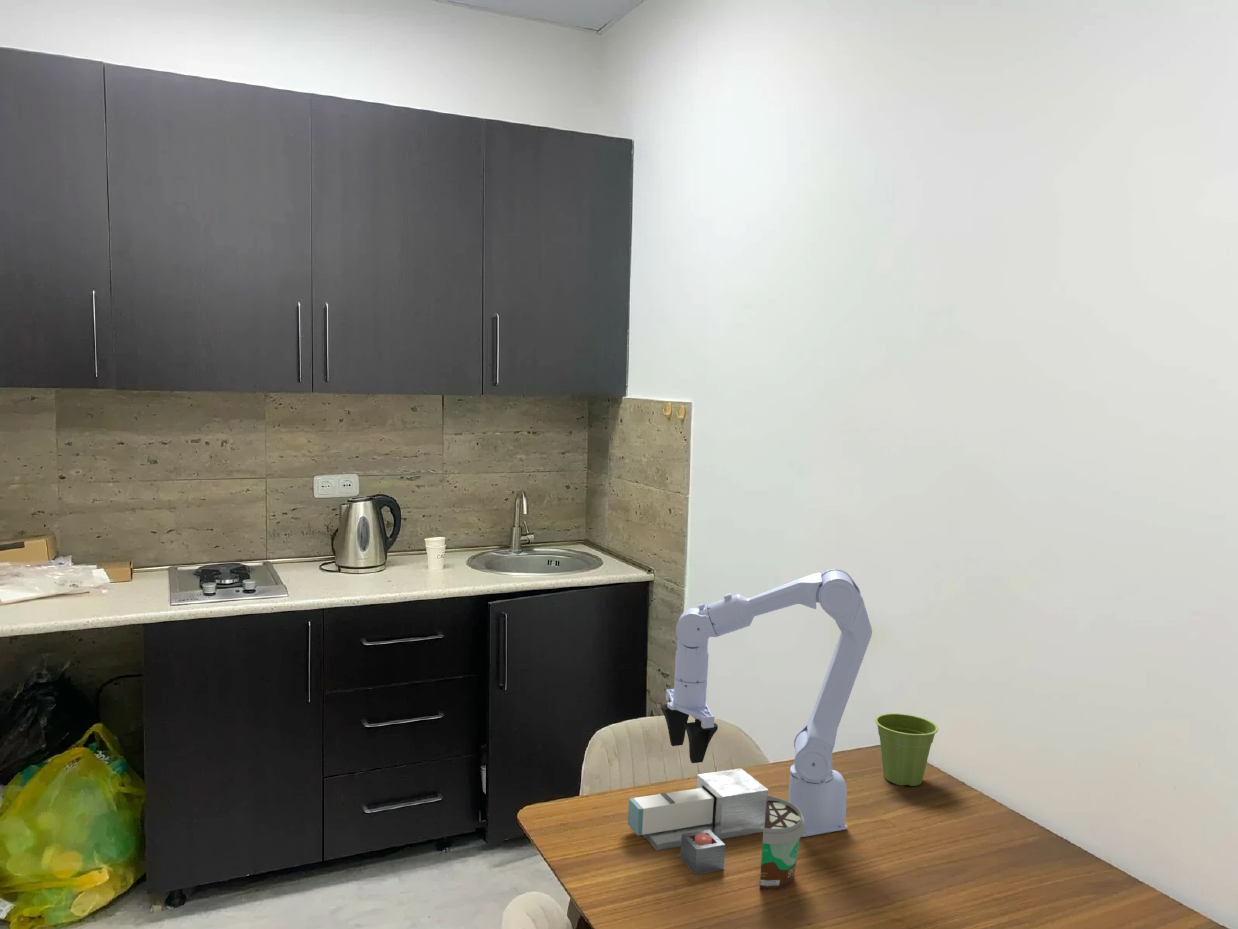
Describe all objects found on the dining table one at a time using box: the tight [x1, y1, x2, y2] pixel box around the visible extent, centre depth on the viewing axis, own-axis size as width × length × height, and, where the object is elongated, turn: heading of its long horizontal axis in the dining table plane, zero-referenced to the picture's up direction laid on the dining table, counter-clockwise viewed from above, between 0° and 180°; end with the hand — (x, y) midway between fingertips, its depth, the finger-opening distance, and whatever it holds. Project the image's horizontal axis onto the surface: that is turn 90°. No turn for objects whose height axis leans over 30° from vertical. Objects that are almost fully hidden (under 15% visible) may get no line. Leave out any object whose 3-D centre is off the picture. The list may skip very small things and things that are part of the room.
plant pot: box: [874, 712, 939, 787], centre depth 175 cm, size 12×12×11 cm
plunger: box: [695, 834, 712, 846], centre depth 140 cm, size 3×3×4 cm
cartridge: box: [627, 788, 714, 836], centre depth 150 cm, size 14×4×5 cm, turn 113°
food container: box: [759, 794, 805, 891], centre depth 137 cm, size 12×6×10 cm, turn 168°
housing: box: [642, 767, 769, 851], centre depth 152 cm, size 21×10×7 cm, turn 113°
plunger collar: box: [679, 830, 726, 876], centre depth 140 cm, size 5×5×4 cm
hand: (686, 753), depth 158 cm, fingers open, 7 cm apart
